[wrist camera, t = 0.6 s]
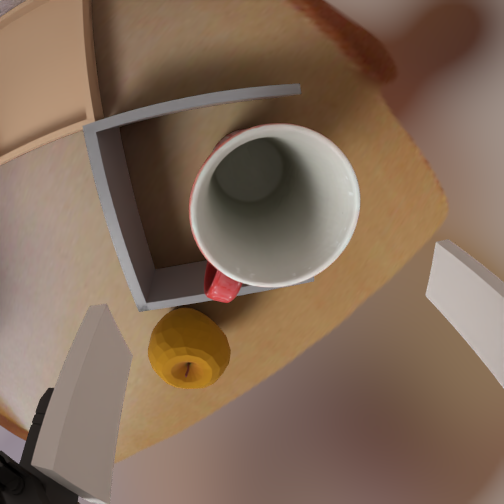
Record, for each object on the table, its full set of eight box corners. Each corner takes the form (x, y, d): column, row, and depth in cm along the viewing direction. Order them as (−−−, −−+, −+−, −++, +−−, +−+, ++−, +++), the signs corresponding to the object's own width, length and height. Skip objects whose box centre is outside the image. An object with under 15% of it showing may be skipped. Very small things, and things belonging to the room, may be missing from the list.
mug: (228, 100, 24) (246, 88, 12) (312, 148, 27) (389, 182, 15) (166, 219, 28) (139, 302, 16) (247, 255, 31) (272, 348, 19)
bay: (149, 277, 30) (139, 311, 25) (107, 121, 23) (82, 126, 17) (296, 251, 31) (313, 281, 26) (280, 89, 24) (299, 83, 18)
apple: (240, 312, 34) (250, 369, 26) (202, 354, 37) (203, 410, 29) (176, 277, 31) (168, 333, 23) (143, 327, 33) (131, 383, 26)
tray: (-2, 166, 22) (-15, 172, 20) (-15, 39, 14) (-28, 37, 12) (104, 122, 23) (95, 124, 21) (91, -20, 15) (82, -28, 13)
